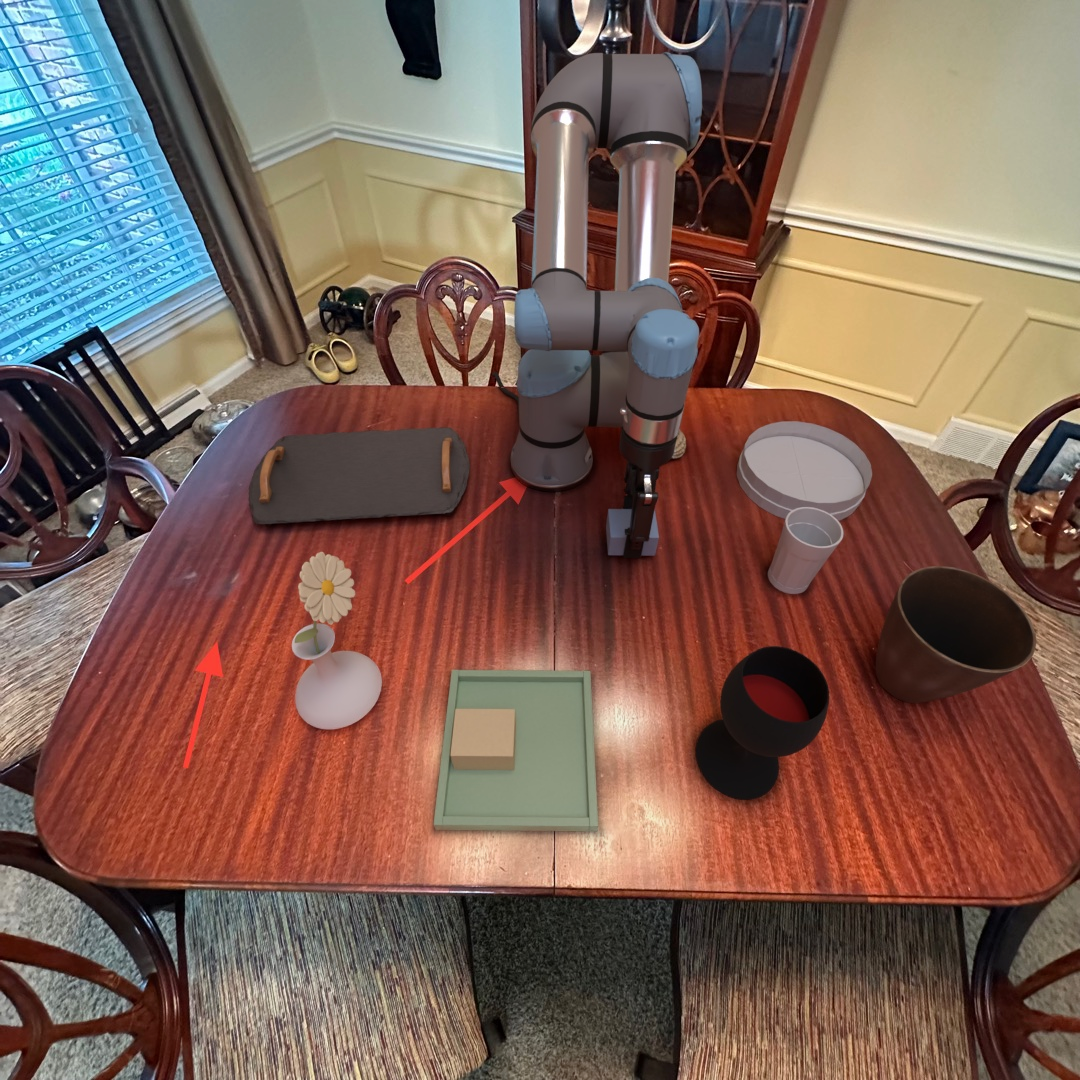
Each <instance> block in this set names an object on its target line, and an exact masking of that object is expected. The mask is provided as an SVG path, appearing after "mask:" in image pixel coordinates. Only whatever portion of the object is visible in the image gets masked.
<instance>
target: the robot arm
mask: <svg viewBox="0 0 1080 1080" xmlns="http://www.w3.org/2000/svg"><path fill="white" fill-rule="evenodd" d="M702 91H703V90H702V79H701V73H700V68H699V66H698V64H697V63H696V60H695V59H694V58H693V57H691V56H690V55H687V54H675V53H671V52H667V51H665V52H662V53H603V52H594V53H587V54H584V55H582V56H580V57H577V58H575V59H574V60H572V61H570V62H569V63H567V65H565V66H564V67H563V68H562V69H560V70H559V71H558V73H556V75H554V77H553V78H552V79H551V80H550V82H549V83H548V84H547V86H546V87H545V89H544V90H543V92H542V94H541V95H540V97H539V100H538V102H537V104H536V106H535V110H534V112H533V116H532V122H531V131H530V144H531V149H532V152H533V154H534V156H535V157H536V170H535V171H536V174H535V193H534V194H535V195H534V196H535V197H534V198H535V200H534V218H533V238H532V239H533V242H532V262H531V263H532V265H531V285H530V286H531V287H528V288H525V289H520V290H518V291H517V292H516V293H515V299H514V339H515V342H516V344H517V345H518V346H519V347H520V348H522V349H526V350H527V351H526V352H525V353H524V354H523V355H522V357H521V358H520V361H519V362H518V367H517V381H516V391H518V395H517V394H516V393H514V392H512V391H510V390H509V389H507V388H506V387H505V386H504V384H503V382H502V379H501V377H500V374H499V373H498V372H496V371H494V372H493V373H492V374H491V376H492V377H493V378H495V382H496V384H497V386H498V387H499V389H500V390H501V391H502V392H503V393H504V394H505V395H506V396H509V397H510V398H512V399H514V401H516V403H517V414H518V426H519V427H518V428H519V430H518V433H517V436H516V439H515V443H514V445H512V449H511V452H510V469H511V471H512V474H513V475H514V477H515V479H517V481H519V482H520V483H521V484H523V486H526V487H528V488H530V489H533V490H536V491H539V492H540V491H541V492H547V493H555V492H565V491H568V490H571V489H573V488H576V487H578V486H580V485H581V484H583V483H584V482H585V481H586V480H587V479H588V478H589V476H590V474H591V473H592V470H593V460H594V459H593V451H592V446H591V445H590V443H589V440H588V436H587V433H586V428H589V427H590V428H591V427H593V428H618V429H619V428H621V430H620V437H619V445H618V447H619V452H620V454H621V456H622V457H623V459H624V460H626V465H625V471H624V477H623V483H624V484H625V486H624V489H623V491H624V494H625V495H624V497H623V500H622V501H623V503H622V508H621V509H632V510H631V521H630V527H628V529H625V535H627V536H626V542H625V548H624V554H623V555H622V556H623V559H641V558H642V555H641V554H642V550H643V545H644V542H648V541H649V538H650V537H649V536H650V531H651V526H652V520H653V515H654V510H655V511H656V505H657V503H658V499H659V493H658V492H657V491H656V487H657V480H659V477H660V467H662V466H663V465H666V464H667V463H668V462H669V461H670V460H671V459H673V458H672V456H673V454H674V449H675V445H676V441H677V434H678V432H679V430H681V425H682V419H683V415H684V411H685V403H686V399H687V396H688V395H687V394H688V391H689V385H690V382H691V377H692V374H693V370H694V365H695V362H696V359H698V352H699V349H698V343H699V338H700V328H699V326H698V324H697V322H696V320H694V319H692V318H690V316H689V315H688V314H687V313H685V312H684V311H683V305H682V303H681V302H680V299H679V296H678V294H677V292H676V290H675V288H674V287H673V286H672V285H671V284H670V283H669V279H670V265H671V249H672V248H671V247H672V235H673V234H672V232H673V217H674V202H675V188H676V187H675V185H676V172H677V171H678V169H679V168H680V167H681V166H682V165H684V164H685V162H686V160H687V157H688V151H690V150H693V149H694V148H695V147H696V146H697V143H698V140H699V136H700V131H701V117H702V111H703V92H702ZM595 149H609V150H610V157H609V159H610V160H609V161H610V164H611V165H612V167H613V168H614V169H615V170H616V172H618V175H619V178H618V179H619V181H618V203H617V224H616V246H615V247H616V248H615V265H614V266H615V268H614V287H613V290H589V289H587V286H588V285H587V284H588V225H589V223H588V218H589V217H588V215H589V159H590V158H591V156H592V154H593V153H594V151H595ZM590 351H593V352H601V354H600V355H599V354H597V355H596V354H591V353H590ZM501 387H505V388H501Z"/></svg>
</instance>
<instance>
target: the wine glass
mask: <svg viewBox="0 0 1080 1080" xmlns="http://www.w3.org/2000/svg"><path fill="white" fill-rule="evenodd" d="M719 701H720V702H719V704H720V705H719V706H720V713H721V718H722V719H718V720H715V721H713V722H711V723H709V724H708V725H706V727H704V728H703V730H702V731H701V732H700V734H699V736H698V738H697V740H696V743H695V758H696V759H695V760H696V764H697V766H698V769H699V771H700V773H701V775H702V777H703V778H704V779H705V780H706V782H707V783H708V784H709V785H710V786H711V787H712V788H714V789H715V790H716V791H717V792H718V793H720V794H722V795H724V796H726V797H729V798H732V799H735V800H741V801H752V800H756V799H758V798H762V797H763V796H765V795H766V794H767V795H768V793H769V792H770V791H771V790H772V789H773V787H774V786H775V784H776V782H777V780H778V779H779V778H778V777H779V775H780V774H779V773H780V763H779V758H782V757H783V758H784V757H788V756H792V755H793V754H796V753H798V752H800V751H802V750H803V749H805V748H806V747H808V746H809V745H810V744H811V743H812V742H813V741H814V740H815V739H816V738H817V736H818V735H819V733H821V730H822V728H823V726H824V724H825V721H826V720H827V719H826V718H827V715H828V710H829V705H830V689H829V685H828V681H827V679H826V677H825V676H824V673H823V672H822V671H821V669H820V668H819V667H818V665H817V664H816V663H815V662H814V661H812V660H811V659H810V658H809V657H807V656H806V655H804V654H803V653H801V652H799V651H798V650H795V649H792V648H789V647H784V646H780V645H779V646H778V645H769V646H764V647H760V648H758V649H755V650H754V651H752V652H750V653H749V654H748V655H746V656H745V657H743V658H742V659H741V660H740V661H739V662H738V663H737V664H735V666H734V667H733V668H732V669H731V671H729V673H728V675H727V676H726V679H725V681H724V683H723V685H722V688H721V692H720V699H719Z"/></svg>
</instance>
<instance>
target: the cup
mask: <svg viewBox="0 0 1080 1080" xmlns="http://www.w3.org/2000/svg"><path fill="white" fill-rule="evenodd" d="M843 539H844V528H843V526H842V524H841V522H840V521H838V520H837V519H836V518H835V517H833V516H832V515H831V514H829V513H827V512H825V511H823V510H821V509H817V508H813V507H800V508H796V509H794V510H792V511H791V512H789V513H788V515H787V517H786V519H784V523H783V526H782V529H781V533H780V537H779V539H778V543H777V545H776V549H775V552H774V554H773V557H772V561H771V563H770V566H769V568H768V570H767V579H768V580H769V582H770V584H771V585H772V586H773V587H774V588H775V589H776V590H778V591H780V592H782V593H785V594H789V595H798V594H802V593H804V592H805V591H806V590H807V589H808V588H809V587H810V584H811V582H812V581H813V580H814V579H815V577H816V576H817V574H818V573H819V571H820V570H821V569H822V567H823V566H824V565H825V564H826V562H827V561H828V559H829V558H830V556H831V555H832V554H833V552H834V551H835V550H836V549H837V547H838V546H839V544H841V541H842V540H843Z"/></svg>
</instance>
